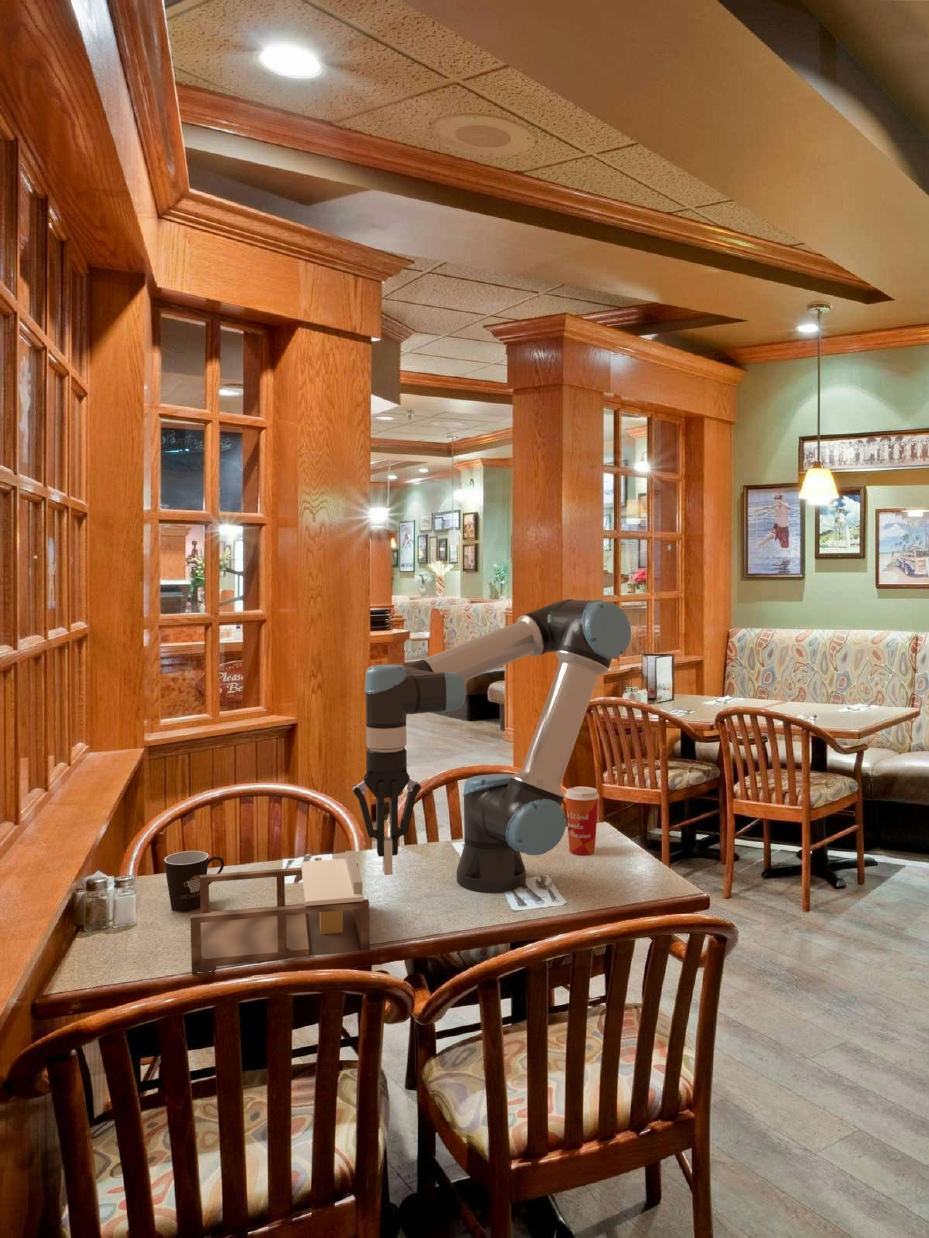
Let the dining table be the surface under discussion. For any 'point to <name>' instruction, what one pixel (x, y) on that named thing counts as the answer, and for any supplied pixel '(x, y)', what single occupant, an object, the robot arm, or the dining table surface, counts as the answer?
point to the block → (331, 922)
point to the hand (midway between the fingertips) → (387, 872)
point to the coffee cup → (582, 819)
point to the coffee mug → (186, 878)
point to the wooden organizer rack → (271, 927)
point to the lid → (332, 881)
